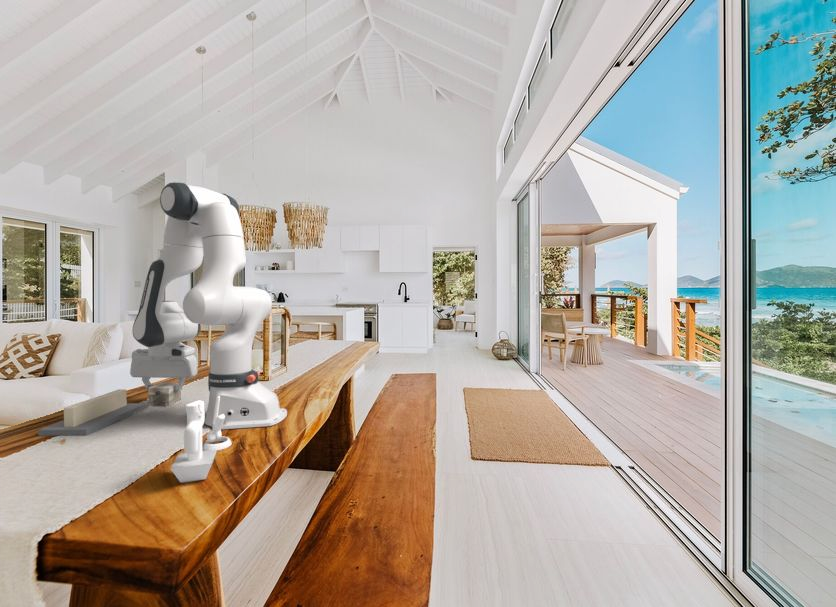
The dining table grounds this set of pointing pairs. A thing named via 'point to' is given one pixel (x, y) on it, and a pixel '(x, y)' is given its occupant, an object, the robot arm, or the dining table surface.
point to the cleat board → (92, 422)
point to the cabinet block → (164, 394)
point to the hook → (216, 436)
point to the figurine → (193, 448)
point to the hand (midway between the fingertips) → (164, 390)
